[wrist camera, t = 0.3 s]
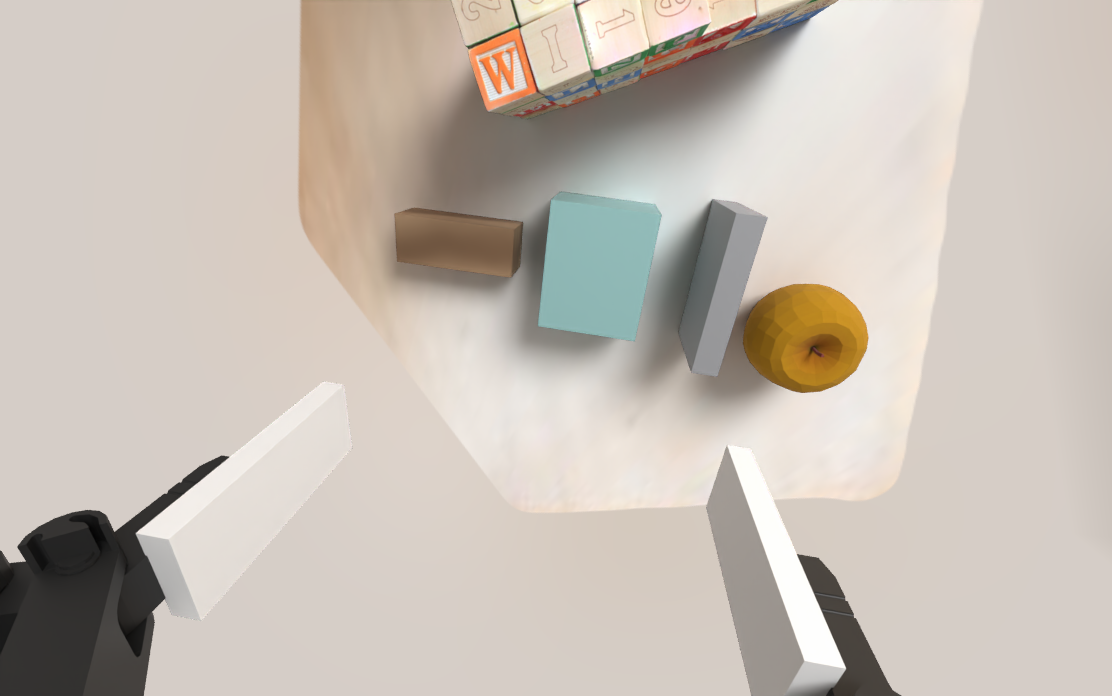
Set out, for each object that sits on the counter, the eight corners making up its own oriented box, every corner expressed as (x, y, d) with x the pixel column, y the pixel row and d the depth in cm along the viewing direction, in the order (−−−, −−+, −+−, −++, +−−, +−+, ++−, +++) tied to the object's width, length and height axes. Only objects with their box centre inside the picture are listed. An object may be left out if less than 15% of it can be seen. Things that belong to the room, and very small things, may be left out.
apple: (843, 339, 39) (900, 388, 31) (747, 372, 42) (778, 425, 34) (819, 253, 37) (875, 283, 29) (718, 293, 39) (744, 331, 31)
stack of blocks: (806, -95, 28) (928, -250, 17) (813, 18, 30) (924, -53, 19) (499, 33, 33) (440, -22, 22) (526, 122, 35) (483, 112, 24)
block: (560, 191, 37) (551, 199, 32) (655, 204, 37) (661, 214, 31) (548, 302, 42) (537, 326, 36) (632, 315, 41) (634, 341, 36)
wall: (712, 199, 36) (736, 213, 29) (737, 202, 36) (767, 217, 29) (678, 332, 41) (691, 372, 34) (699, 335, 41) (717, 376, 34)
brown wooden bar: (415, 207, 40) (394, 213, 36) (523, 221, 39) (514, 229, 35) (416, 251, 41) (397, 261, 38) (520, 265, 41) (510, 277, 37)
